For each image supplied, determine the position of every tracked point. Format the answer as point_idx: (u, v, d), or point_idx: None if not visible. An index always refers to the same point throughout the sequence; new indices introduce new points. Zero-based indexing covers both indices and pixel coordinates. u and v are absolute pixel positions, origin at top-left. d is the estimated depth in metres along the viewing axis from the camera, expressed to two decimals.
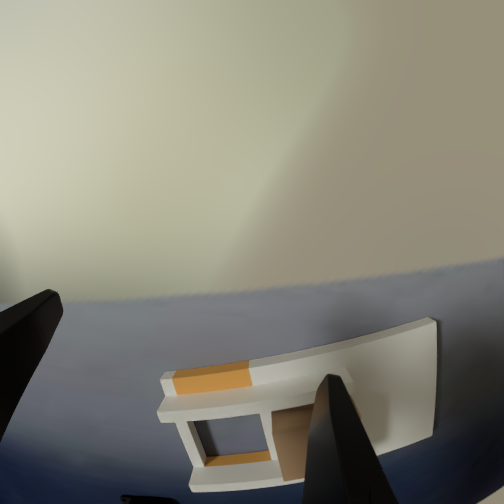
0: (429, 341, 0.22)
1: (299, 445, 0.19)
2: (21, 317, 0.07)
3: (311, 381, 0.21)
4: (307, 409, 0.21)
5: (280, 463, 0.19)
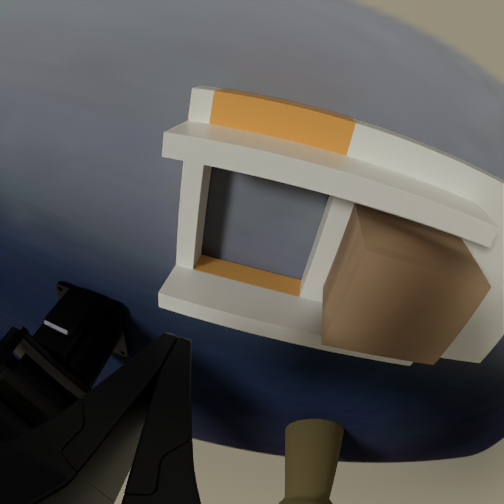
0: None
1: (391, 292, 0.11)
2: (149, 373, 0.07)
3: (440, 194, 0.12)
4: (414, 235, 0.12)
5: (340, 311, 0.12)
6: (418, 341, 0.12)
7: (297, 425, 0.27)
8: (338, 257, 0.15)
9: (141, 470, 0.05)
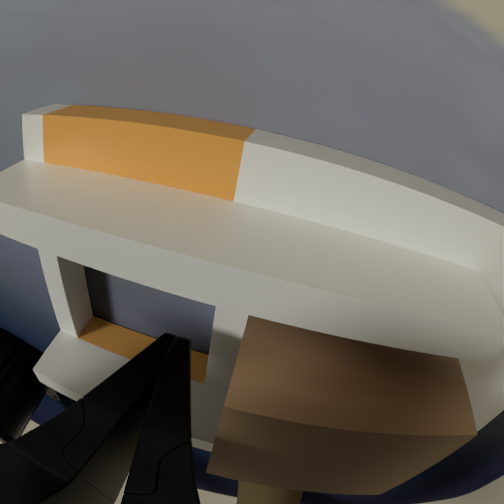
0: None
1: (289, 449, 0.06)
2: (149, 373, 0.07)
3: (410, 271, 0.07)
4: (354, 343, 0.07)
5: (214, 454, 0.07)
6: (350, 483, 0.07)
7: None
8: None
9: (140, 470, 0.05)
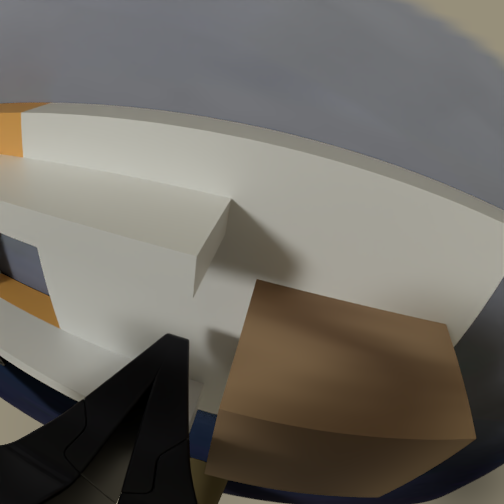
0: (486, 272, 0.07)
1: (285, 452, 0.06)
2: (151, 374, 0.07)
3: (106, 192, 0.07)
4: (352, 345, 0.07)
5: (211, 456, 0.07)
6: (348, 485, 0.07)
7: None
8: None
9: (138, 469, 0.05)
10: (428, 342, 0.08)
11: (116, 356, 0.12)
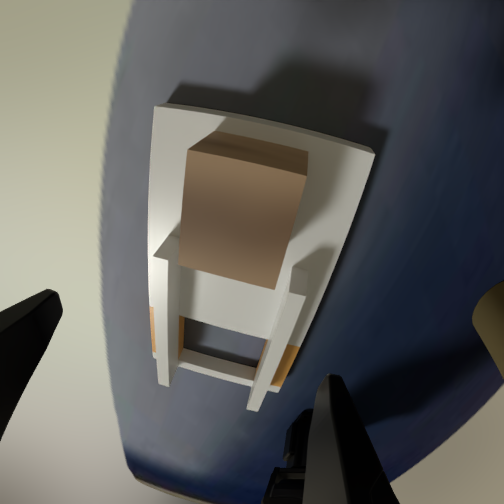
0: (178, 121, 0.16)
1: (208, 244, 0.15)
2: (21, 317, 0.07)
3: None
4: None
5: (233, 278, 0.16)
6: (264, 207, 0.13)
7: None
8: None
9: None
10: None
11: (277, 311, 0.22)
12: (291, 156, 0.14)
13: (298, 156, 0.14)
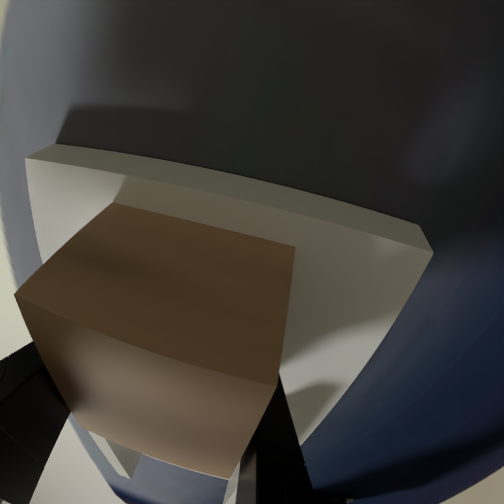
0: (58, 185, 0.08)
1: (109, 424, 0.07)
2: None
3: None
4: None
5: (162, 459, 0.08)
6: (186, 413, 0.06)
7: None
8: None
9: (267, 503, 0.05)
10: None
11: None
12: (253, 281, 0.06)
13: (268, 278, 0.07)
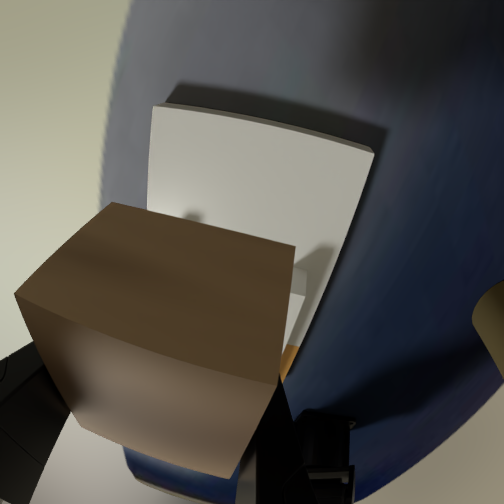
0: (176, 121, 0.16)
1: (109, 424, 0.07)
2: None
3: None
4: None
5: (162, 459, 0.08)
6: (186, 412, 0.06)
7: (475, 328, 0.21)
8: None
9: (267, 503, 0.05)
10: None
11: None
12: (253, 281, 0.06)
13: (268, 277, 0.07)
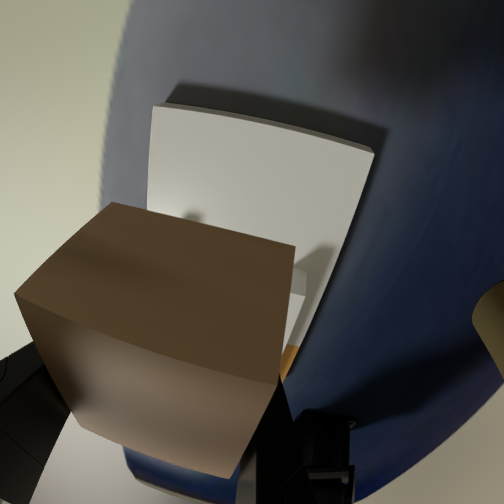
0: (176, 121, 0.16)
1: (109, 424, 0.07)
2: None
3: None
4: None
5: (162, 459, 0.08)
6: (186, 412, 0.06)
7: (475, 328, 0.21)
8: None
9: (267, 503, 0.05)
10: None
11: None
12: (253, 281, 0.06)
13: (268, 277, 0.07)
